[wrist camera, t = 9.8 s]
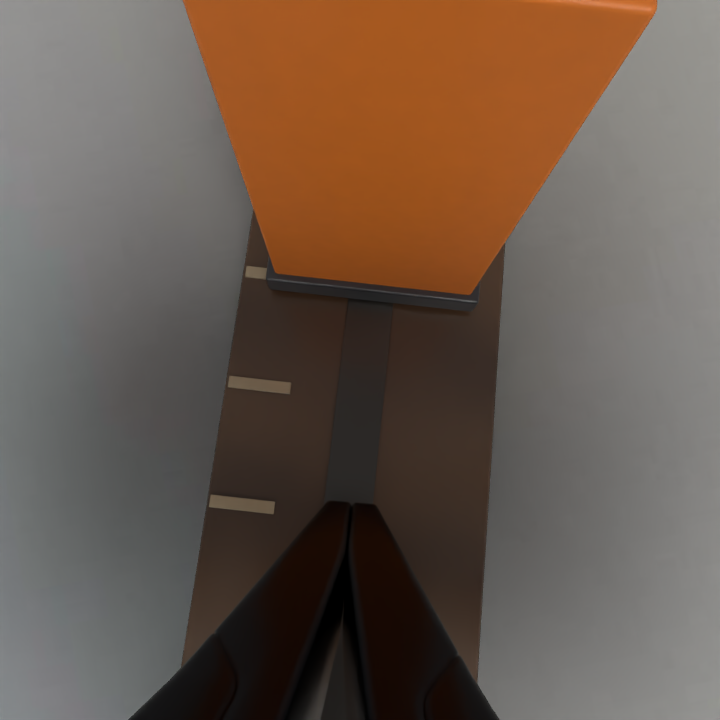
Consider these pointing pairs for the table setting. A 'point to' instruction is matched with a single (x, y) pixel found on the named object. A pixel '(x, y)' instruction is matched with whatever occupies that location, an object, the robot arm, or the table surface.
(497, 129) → the orange rectangular block
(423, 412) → the rail
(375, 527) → the robot arm
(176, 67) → the table surface
